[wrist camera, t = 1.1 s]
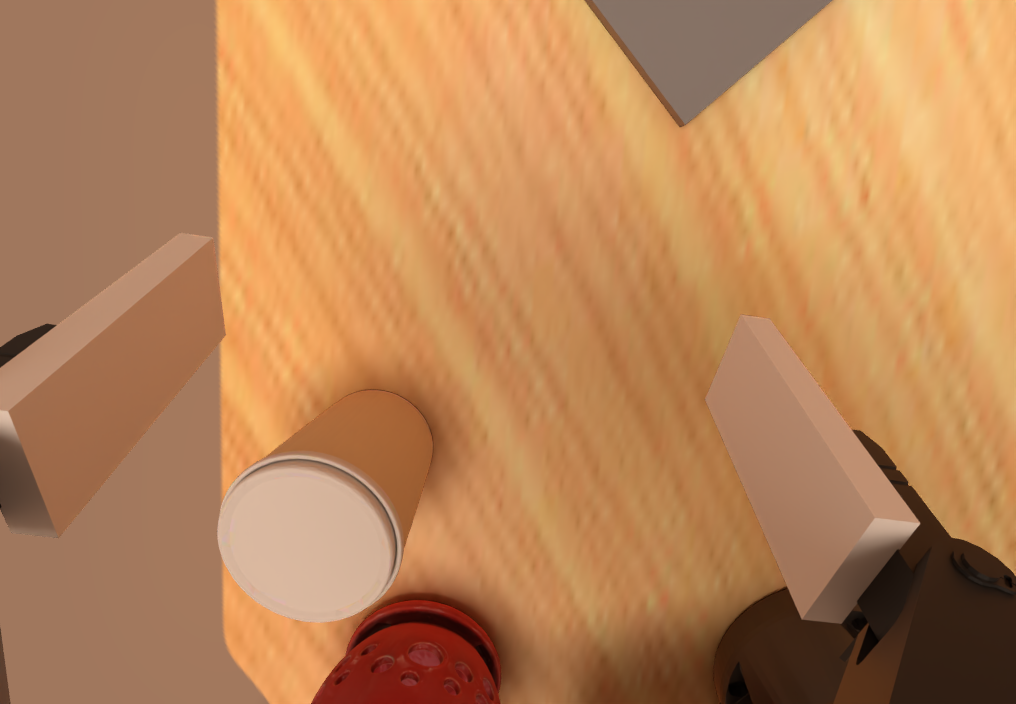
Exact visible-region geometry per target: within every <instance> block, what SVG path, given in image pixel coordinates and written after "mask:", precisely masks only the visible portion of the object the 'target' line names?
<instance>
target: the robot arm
mask: <svg viewBox="0 0 1016 704" xmlns="http://www.w3.org/2000/svg"><path fill="white" fill-rule="evenodd" d="M225 335H226V333H225V325H224V317H223V310H222V302H221V294H220V286H219V279H218V271H217V263H216V255H215V248H214V240H213V238H212V237H206V236H199V235H192V234H186V233H180V234H178V235H177V236H175V237H174V238H173V239H171V240H170V241H169V242H168V243H166V244H165V245H163V246H162V247H161V248H159V249H158V250H157V251H155V252H154V253H153V254H151V255H150V256H149V257H147V258H146V259H145V260H143V261H142V262H141V263H139V264H138V265H137V266H135V267H134V268H133V269H131V270H130V271H129V272H127V273H126V274H125V275H123V276H122V277H121V278H119V279H118V280H117V281H115V282H114V283H113V284H111V285H110V286H109V287H107V288H106V289H105V290H104V291H102V292H101V293H99V294H98V295H97V296H95V297H94V298H93V299H91V300H90V301H89V302H87V303H86V304H85V305H83V306H82V307H81V308H79V309H78V310H77V311H75V312H74V313H73V314H71V315H70V316H69V317H68V318H66V319H65V320H63V321H62V322H61V323H59V324H58V325H51V324H45V325H43V326H40V327H38V328H35V329H33V330H30V331H28V332H25V333H23V334H20V335H18V336H16V337H14V338H13V339H12V340H10V341H9V342H7V343H6V344H5V345H3V346H2V347H0V510H1V512H2V514H3V516H4V518H5V521H6V523H7V525H8V527H9V529H10V531H11V533H16V534H25V535H35V536H43V537H53V538H59V537H60V536H61V535H62V534H63V532H64V531H65V530H66V529H67V527H68V526H69V525H70V524H71V523H72V521H73V520H74V519H75V518H76V517H77V515H78V514H79V513H80V512H81V511H82V509H83V508H84V507H85V506H86V504H87V503H88V502H89V501H90V499H91V498H92V497H93V496H94V495H95V493H96V492H97V491H98V490H99V489H100V487H101V486H102V485H103V484H104V483H105V481H106V480H107V479H108V478H109V476H110V475H111V474H112V473H113V472H114V470H115V469H116V468H117V467H118V465H119V464H120V463H121V462H122V461H123V459H124V458H125V457H126V456H127V454H128V453H129V452H130V451H131V450H132V449H133V447H134V446H135V445H136V444H137V442H138V441H139V440H140V439H141V438H142V436H143V435H144V434H145V433H146V431H147V430H148V429H149V428H150V427H151V425H152V424H153V423H154V421H156V419H157V418H158V417H159V416H160V414H161V413H162V412H163V411H164V409H165V408H166V407H167V406H168V405H169V404H170V402H171V401H172V400H173V399H174V397H175V396H176V395H177V394H178V393H179V391H180V390H181V389H182V388H183V387H184V385H185V384H186V383H187V382H188V380H189V379H190V378H191V377H192V376H193V374H194V373H195V372H196V371H197V369H198V368H199V367H200V366H201V365H202V363H203V362H204V361H205V360H206V359H207V357H208V356H209V355H210V354H211V352H212V351H213V350H214V349H215V348H216V346H217V345H218V344H219V343H220V342H221V340H222V339H223V338H224V337H225ZM705 401H706V403H707V406H708V408H709V410H710V412H711V415H712V417H713V419H714V422H715V424H716V426H717V428H718V431H719V433H720V435H721V437H722V440H723V442H724V444H725V446H726V449H727V451H728V453H729V456H730V458H731V460H732V462H733V465H734V467H735V469H736V471H737V474H738V476H739V478H740V480H741V483H742V485H743V487H744V490H745V492H746V494H747V496H748V499H749V501H750V503H751V505H752V508H753V510H754V512H755V515H756V517H757V519H758V521H759V524H760V526H761V528H762V530H763V533H764V535H765V537H766V539H767V542H768V544H769V546H770V549H771V551H772V553H773V555H774V558H775V560H776V562H777V564H778V567H779V569H780V571H781V573H782V576H783V578H784V580H785V583H786V585H787V587H788V589H785V590H783V591H780V592H777V593H775V594H773V595H771V596H768V597H767V598H765V599H763V600H761V601H759V602H758V603H756V604H755V605H753V606H752V607H750V608H749V609H748V610H746V611H745V612H744V613H743V614H742V615H741V616H740V617H739V618H738V619H736V621H735V622H734V623H733V624H732V625H731V626H730V628H729V629H728V630H727V632H726V633H725V635H724V637H723V638H722V640H721V642H720V645H719V647H718V650H717V653H716V656H715V661H714V673H713V674H714V683H715V688H716V692H717V695H718V698H719V702H720V704H1016V576H1015V575H1014V574H1013V572H1012V571H1011V570H1010V569H1009V568H1007V567H1006V566H1005V565H1004V564H1003V563H1002V562H1001V561H1000V560H999V559H998V558H996V557H994V556H993V555H991V554H990V553H988V552H987V551H985V550H984V549H982V548H980V547H978V546H976V545H974V544H971V543H969V542H967V541H964V540H960V539H955V538H951V537H950V535H949V534H948V533H947V531H946V530H945V529H944V528H943V526H942V525H941V524H940V522H939V521H938V520H937V519H936V517H935V516H934V515H933V513H932V512H931V511H930V509H929V508H928V507H927V506H926V504H925V503H924V502H923V500H922V499H921V498H920V497H919V495H918V494H917V493H916V491H915V490H914V489H913V487H912V486H908V481H907V480H906V478H905V477H904V476H903V475H902V473H901V472H900V471H898V470H896V465H895V464H894V463H893V462H892V460H891V459H890V458H889V456H888V455H887V454H886V453H885V451H884V450H883V449H882V448H881V447H880V446H879V445H878V444H876V443H875V442H874V441H873V440H871V439H870V438H869V437H868V436H866V435H865V434H864V433H863V432H861V431H858V430H851V428H850V427H849V426H848V424H847V423H846V422H845V420H844V419H843V417H842V416H841V415H840V413H839V412H838V411H837V409H836V408H835V407H834V405H833V404H832V403H831V401H830V400H829V398H828V397H827V396H826V394H825V393H824V392H823V390H822V389H821V388H820V386H819V385H818V384H817V382H816V381H815V379H814V378H813V377H812V375H811V374H810V373H809V371H808V370H807V369H806V367H805V366H804V365H803V363H802V362H801V360H800V359H799V358H798V356H797V355H796V354H795V352H794V351H793V350H792V348H791V347H790V346H789V344H788V343H787V341H786V340H785V339H784V337H783V336H782V335H781V333H780V332H779V331H778V329H777V328H776V327H775V325H774V324H773V322H772V321H771V320H770V319H769V318H762V317H755V316H748V315H740V318H739V320H738V322H737V325H736V327H735V329H734V332H733V334H732V337H731V339H730V341H729V344H728V346H727V348H726V351H725V353H724V356H723V358H722V360H721V363H720V365H719V367H718V370H717V372H716V374H715V377H714V379H713V382H712V384H711V386H710V389H709V391H708V393H707V396H706V398H705ZM0 704H10V698H9V689H8V682H7V674H6V667H5V659H4V652H3V644H2V637H1V630H0Z"/></svg>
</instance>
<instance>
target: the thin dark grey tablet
mask: <svg viewBox="0 0 1016 704" xmlns="http://www.w3.org/2000/svg"><path fill="white" fill-rule="evenodd" d="M585 1H586V3H587V4H588V5H589V7H590V8H591V9H592V11H593V12H594V13H595V15H596V16H597V17H598V19H599V20H600V21H601V23H602V24H603V25H604V27H605V28H606V29H607V31H608V32H609V33H610V35H611V36H612V37H613V39H614V40H615V41H616V43H617V44H618V45H619V47H620V48H621V49H622V51H623V52H624V53H625V55H626V56H627V57H628V59H629V60H630V61H631V63H632V64H633V65H634V67H635V68H636V69H637V71H638V72H639V73H640V75H641V76H642V77H643V79H644V80H645V81H646V83H647V84H648V85H649V87H650V88H651V89H652V91H653V92H654V93H655V95H656V96H657V97H658V99H659V100H660V101H661V103H662V104H663V105H664V107H665V108H666V109H667V111H668V112H669V113H670V115H671V116H672V117H673V118H674V120H675V121H676V122H677V124H678V125H679V126H680V127H682V126H684V125H686V124H687V123H688V122H690V121H691V120H692V119H693V118H694V117H695V116H697V115H698V114H699V113H700V112H701V111H702V110H704V109H705V108H706V107H707V106H708V105H710V104H711V103H712V102H713V101H714V100H715V99H717V98H718V97H719V96H720V95H721V94H723V93H724V92H725V91H726V90H727V89H728V88H730V87H731V86H732V85H733V84H734V83H735V82H737V81H738V80H739V79H740V78H741V77H743V76H744V75H745V74H746V73H747V72H748V71H750V70H751V69H752V68H753V67H754V66H755V65H757V64H758V63H759V62H760V61H761V60H763V59H764V58H765V57H766V56H767V55H768V54H770V53H771V52H772V51H773V50H774V49H776V48H777V47H778V46H779V45H780V44H781V43H783V42H784V41H785V40H786V39H787V38H788V37H790V36H791V35H792V34H793V33H794V32H796V31H797V30H798V29H799V28H800V27H801V26H803V25H804V24H805V23H806V22H807V21H808V20H810V19H811V18H812V17H813V16H814V15H816V14H817V13H818V12H819V11H820V10H821V9H823V8H824V7H825V6H826V5H827V4H829V3H830V2H831V1H832V0H585Z"/></svg>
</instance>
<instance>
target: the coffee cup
mask: <svg viewBox="0 0 1016 704" xmlns="http://www.w3.org/2000/svg"><path fill="white" fill-rule="evenodd" d="M432 454H433V441H432V435H431V432H430V429H429V426H428V424H427V422H426V420H425V419H424V417H423V416H422V414H421V413H420V412H419V410H418V409H416V408H415V407H414V406H413V405H412V404H411V403H410V402H408V401H407V400H406V399H404V398H402V397H400V396H398V395H396V394H393V393H391V392H386V391H381V390H364V391H359V392H356V393H353V394H350V395H348V396H346V397H344V398H343V399H341V400H340V401H338V402H337V403H335V404H334V405H332V406H331V407H330V408H328V409H327V410H326V411H324V412H323V413H322V414H320V415H319V416H318V417H316V418H315V419H314V420H312V421H311V422H310V423H309V424H307V425H306V426H305V427H303V428H302V429H301V430H299V431H298V432H297V433H296V434H294V435H293V436H292V437H290V438H289V439H288V440H287V441H285V442H284V443H283V444H281V445H280V446H279V447H278V448H276V449H275V450H274V451H272V452H271V453H270V454H269V455H267V456H266V457H265V458H263V459H261V460H259V461H257V462H256V463H254V464H253V465H251V466H250V467H249V468H247V469H246V470H244V471H243V472H242V473H241V474H240V475H239V476H238V477H237V478H236V480H235V481H234V482H233V483H232V484H231V486H230V488H229V489H228V491H227V493H226V495H225V497H224V499H223V502H222V505H221V510H220V515H219V521H218V530H217V534H218V544H219V548H220V552H221V556H222V559H223V561H224V563H225V565H226V567H227V569H228V571H229V572H230V574H231V576H232V577H233V578H234V580H235V581H236V583H237V584H238V585H239V586H240V587H241V589H242V590H243V591H244V592H246V593H247V594H248V595H249V596H250V597H251V598H252V599H253V600H255V601H256V602H258V603H259V604H261V605H262V606H264V607H265V608H267V609H269V610H270V611H273V612H275V613H277V614H279V615H282V616H285V617H287V618H291V619H295V620H299V621H304V622H331V621H337V620H341V619H345V618H348V617H351V616H353V615H355V614H357V613H359V612H361V611H363V610H364V609H366V608H367V607H369V606H370V605H372V604H373V603H375V602H376V601H377V600H379V599H380V598H381V597H382V596H383V595H384V594H385V593H386V592H387V590H388V589H389V588H390V586H391V585H392V583H393V582H394V580H395V578H396V576H397V574H398V572H399V569H400V565H401V562H402V558H403V552H404V547H405V544H406V541H407V537H408V534H409V531H410V528H411V525H412V522H413V519H414V516H415V513H416V509H417V506H418V503H419V500H420V497H421V493H422V490H423V487H424V484H425V480H426V477H427V474H428V471H429V467H430V464H431V459H432Z"/></svg>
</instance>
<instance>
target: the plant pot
mask: <svg viewBox="0 0 1016 704" xmlns="http://www.w3.org/2000/svg"><path fill="white" fill-rule="evenodd" d="M500 684H501V667H500V661H499V657H498V654H497V651H496V649H495V647H494V645H493V643H492V641H491V640H490V638H489V637H488V635H487V634H486V632H485V631H484V630H483V629H482V628H481V627H480V626H479V625H478V624H477V623H476V622H475V621H474V620H472V619H471V618H470V617H469V616H467V615H466V614H464V613H463V612H461V611H459V610H457V609H455V608H453V607H450V606H448V605H445V604H441V603H437V602H433V601H426V600H410V601H403V602H398V603H394V604H391V605H388V606H386V607H384V608H381V609H379V610H378V611H376V612H374V613H373V614H372V615H370V616H369V617H368V618H366V619H365V620H364V621H363V622H362V623H361V624H360V626H359V627H358V628H357V629H356V631H355V632H354V634H353V636H352V638H351V640H350V642H349V645H348V648H347V651H346V656H345V657H344V658H343V659H342V660H341V661H340V662H339V663H338V664H337V666H336V667H335V668H334V669H333V670H332V672H331V673H330V674H329V676H328V677H327V678H326V680H325V681H324V683H323V684H322V686H321V687H320V689H319V691H318V692H317V694H316V696H315V697H314V699H313V701H312V703H311V704H500V699H499V695H498V693H499V689H500Z"/></svg>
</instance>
